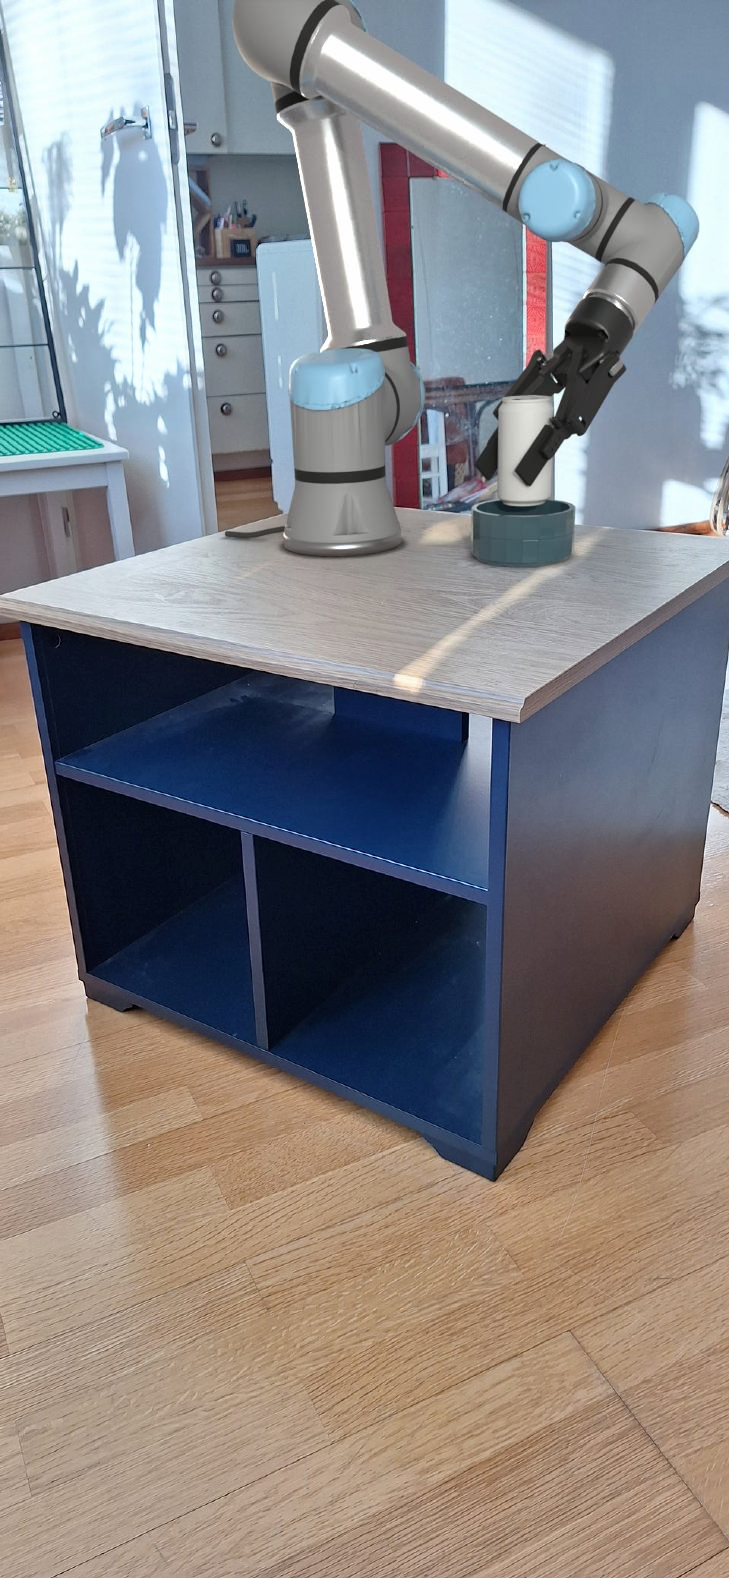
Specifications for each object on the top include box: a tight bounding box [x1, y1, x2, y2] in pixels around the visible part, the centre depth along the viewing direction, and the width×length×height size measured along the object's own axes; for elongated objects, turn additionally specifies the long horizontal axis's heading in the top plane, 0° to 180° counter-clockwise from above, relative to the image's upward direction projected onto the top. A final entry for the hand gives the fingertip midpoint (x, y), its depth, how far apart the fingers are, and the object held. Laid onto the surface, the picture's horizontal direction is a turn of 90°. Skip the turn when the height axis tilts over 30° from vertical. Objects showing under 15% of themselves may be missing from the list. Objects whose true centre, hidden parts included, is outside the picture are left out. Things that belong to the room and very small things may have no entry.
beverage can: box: [496, 395, 555, 506], centre depth 131 cm, size 6×6×12 cm
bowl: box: [470, 498, 576, 568], centre depth 134 cm, size 12×12×6 cm
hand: (502, 475), depth 130 cm, fingers closed on beverage can, 6 cm apart
